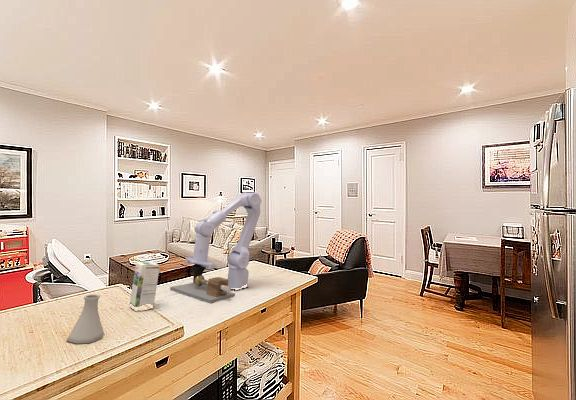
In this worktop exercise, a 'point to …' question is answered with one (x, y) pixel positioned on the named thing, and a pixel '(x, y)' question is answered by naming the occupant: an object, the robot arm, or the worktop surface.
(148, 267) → the syrup box
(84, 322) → the flask
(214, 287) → the block
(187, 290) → the base board
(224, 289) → the shaft
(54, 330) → the worktop surface
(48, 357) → the worktop surface
